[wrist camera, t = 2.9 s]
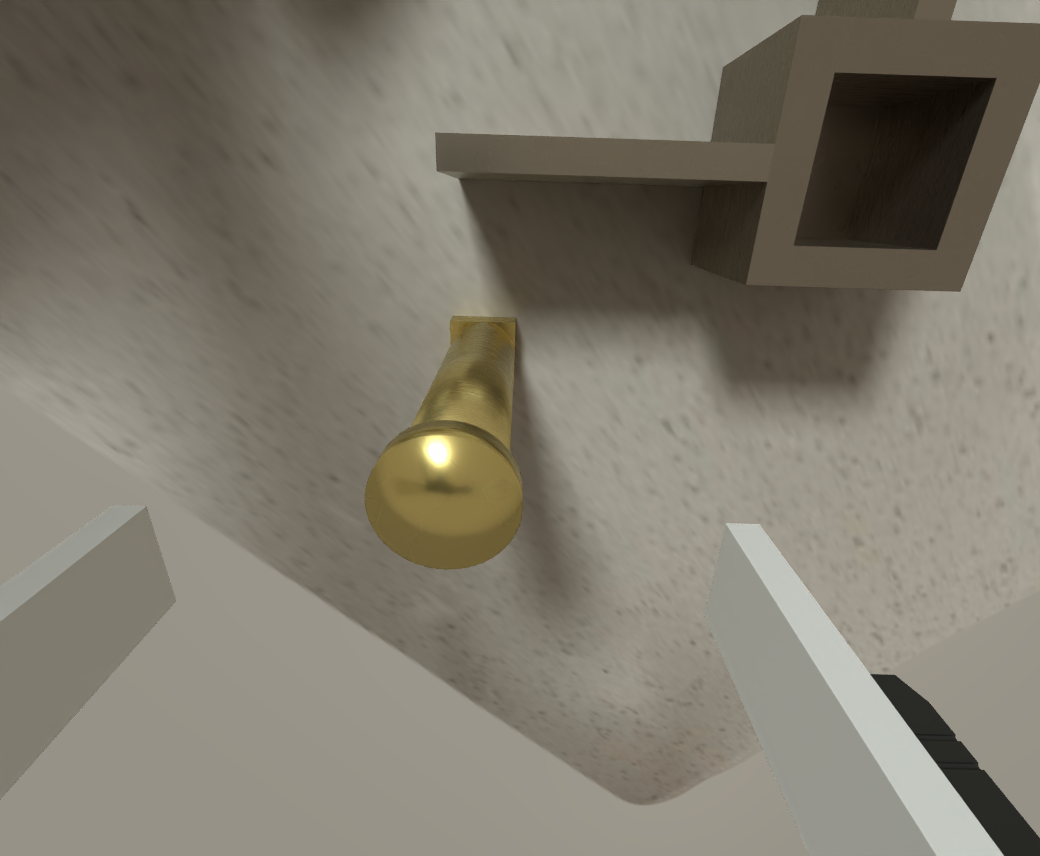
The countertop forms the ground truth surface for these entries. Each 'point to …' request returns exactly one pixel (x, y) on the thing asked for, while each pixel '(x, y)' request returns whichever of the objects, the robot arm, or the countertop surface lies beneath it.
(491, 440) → the hinge pin
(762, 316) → the countertop surface
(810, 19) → the hinge
